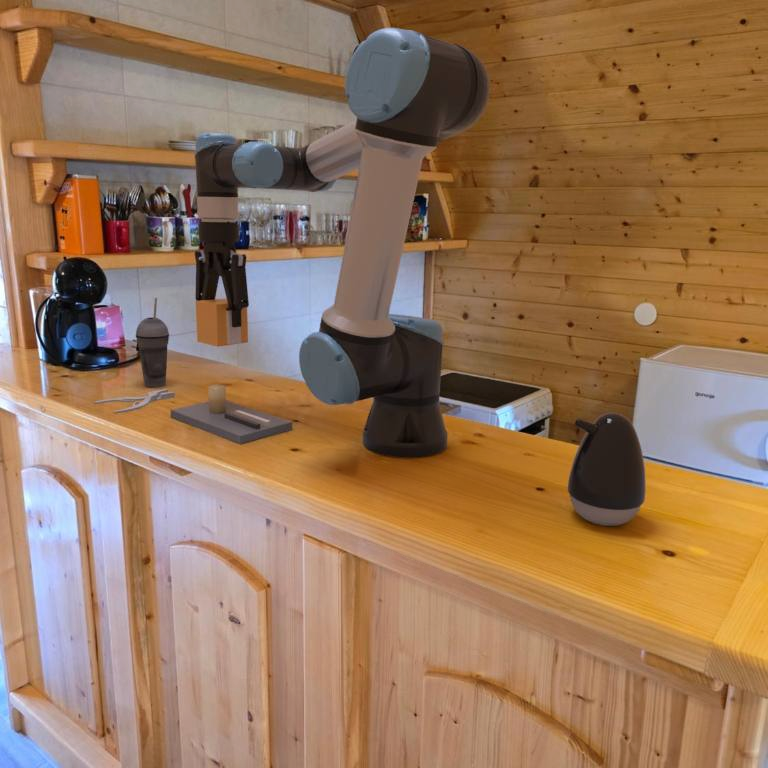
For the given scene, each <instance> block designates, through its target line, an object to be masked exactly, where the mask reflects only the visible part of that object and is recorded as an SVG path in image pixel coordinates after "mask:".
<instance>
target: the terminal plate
mask: <svg viewBox="0 0 768 768" xmlns="http://www.w3.org/2000/svg"><path fill="white" fill-rule="evenodd" d="M226 389H227V388H226V385H224V384H211V385H208V401H204V402H199V403H195V404H191V405H185V406H182V407H177V408H173V409H170V418H172V419H174V420H178V421H180V422H182V423H185V424H187V425H190V426H192V427H195V428H198V429H201V430H203V431H205V432H208V433H211V434H213V435H216V436H218V437H220V438H221V437H222V438H224V439H226V440H228V441H232V442H234V443H237V444H239V445H242V444H245V443H246V444H247V443H249V442H254V441H257V440H259V439H264V438H268V437H270V436H275V435H278V434H282V433H285V432H288V431H292V430H293V421H290V420H287V419H284V418H282V417H278V416H275V415H273V414H269V413H266V412H263V411H260V410H258V409H254V408H251V407H248V406H245V405H241V404H239V403H236V402H232V401H231V400H226V399H227V396H226V394H227V392H226Z"/></svg>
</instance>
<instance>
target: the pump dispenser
mask: <svg viewBox="0 0 768 768" xmlns="http://www.w3.org/2000/svg"><path fill="white" fill-rule="evenodd" d="M574 426H575V427H577V428H579V429H581V430H582V431H585V434H584V436H583V437H582V439H581V442H580V443H579V446H578V447H577V450H576V452H575V455H574V458H573V461H572V464H571V468H570V471H569V476H568V481H567V492H568V494H569V497H570V498H569V499H570V502H571V505H572V506H573V509H574V510H575V512H576V513H577V514H578V515H579V516H580V517H581V518H583V519H584V520H586V521H588V522H590V523H592V524H595V525H599V526H604V527H617V526H620V525H623V524H626V523H628V522H630V521H631V520H632V519H634V517H635V516H636V515H637V514H638V512H639V510H640V508H641V506H642V505H643V504H644V503H645V499H646V491H647V489H646V483H647V482H646V469H645V467H646V466H645V460H644V454H643V451H642V446H641V442H640V439H639V437H638V434H637V431H636V429H635V427H634V424H633V423H632V422H631V420H630V419H629V418H628V417H627V416H624V415H623V414H620V413H617V412H608V413H604V414H603V413H602V414H601V415H600V416H598V417H597V418H596V419H595V420H594V421H593V422H590V421H586V420H584V419H581V418H577V419H575V421H574Z"/></svg>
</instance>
